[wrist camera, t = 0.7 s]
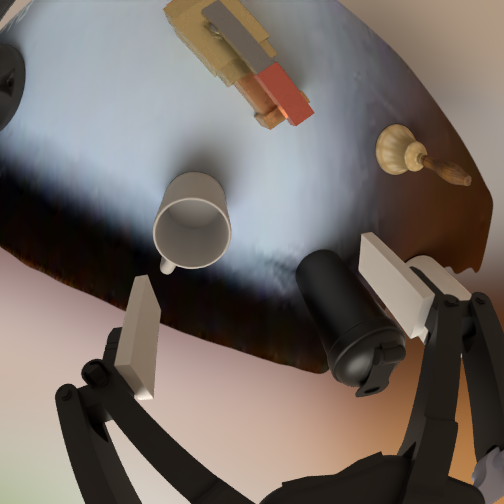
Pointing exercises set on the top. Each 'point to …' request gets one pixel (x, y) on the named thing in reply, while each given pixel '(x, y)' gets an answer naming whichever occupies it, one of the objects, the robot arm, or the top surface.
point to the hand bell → (413, 156)
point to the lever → (258, 63)
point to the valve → (226, 52)
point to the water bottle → (350, 324)
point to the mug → (192, 223)
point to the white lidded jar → (438, 280)
